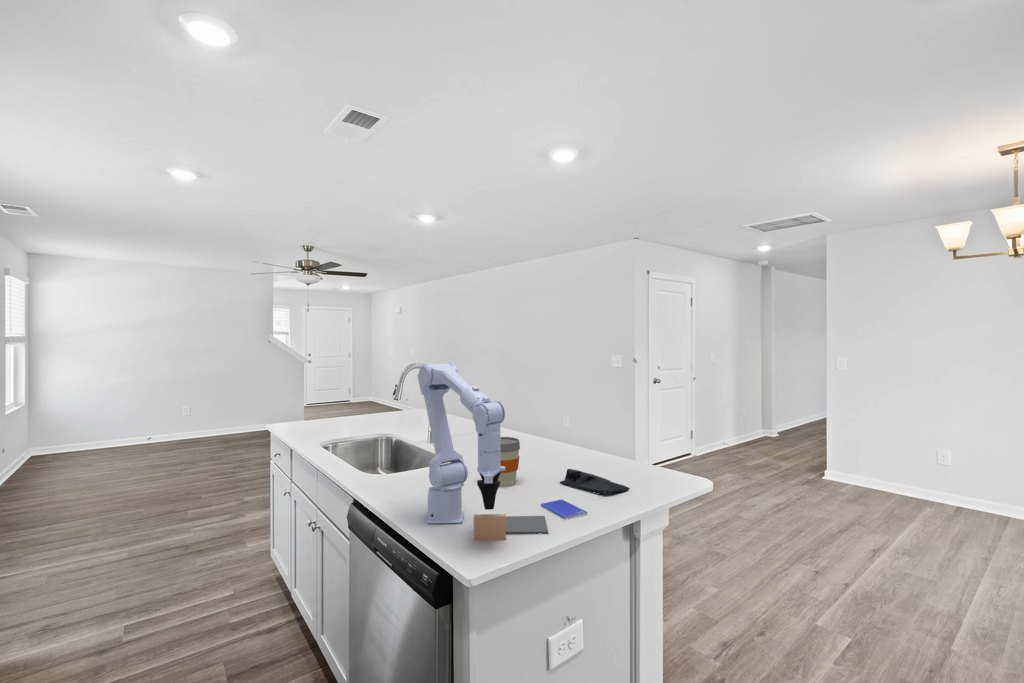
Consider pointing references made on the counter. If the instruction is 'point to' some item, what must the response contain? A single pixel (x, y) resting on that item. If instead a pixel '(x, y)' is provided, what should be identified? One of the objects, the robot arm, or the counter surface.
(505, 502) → the counter surface
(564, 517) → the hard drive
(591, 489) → the dark slate chunk
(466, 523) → the counter surface
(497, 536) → the tile
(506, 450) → the reusable coffee cup
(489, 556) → the counter surface
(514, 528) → the mat
